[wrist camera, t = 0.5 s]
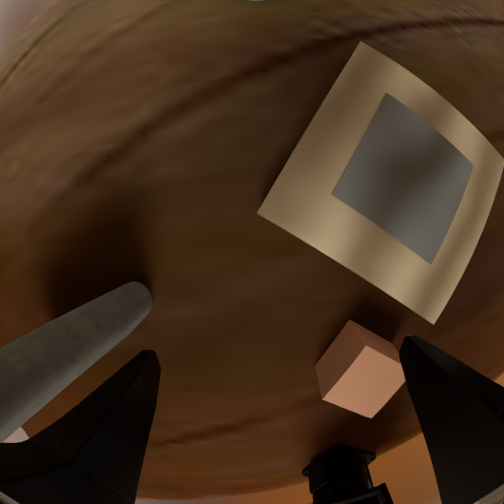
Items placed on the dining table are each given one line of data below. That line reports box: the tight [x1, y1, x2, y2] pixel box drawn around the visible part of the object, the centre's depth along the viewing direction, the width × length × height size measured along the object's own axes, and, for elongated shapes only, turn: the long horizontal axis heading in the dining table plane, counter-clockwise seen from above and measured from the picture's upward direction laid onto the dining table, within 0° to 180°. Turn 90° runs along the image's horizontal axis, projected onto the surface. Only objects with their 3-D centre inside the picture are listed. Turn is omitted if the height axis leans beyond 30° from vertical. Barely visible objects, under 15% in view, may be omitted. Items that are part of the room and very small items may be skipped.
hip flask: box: [0, 281, 153, 443], centre depth 14 cm, size 16×4×20 cm, turn 125°
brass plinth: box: [257, 42, 504, 325], centre depth 18 cm, size 16×16×3 cm
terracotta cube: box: [315, 319, 405, 418], centre depth 19 cm, size 5×5×5 cm
